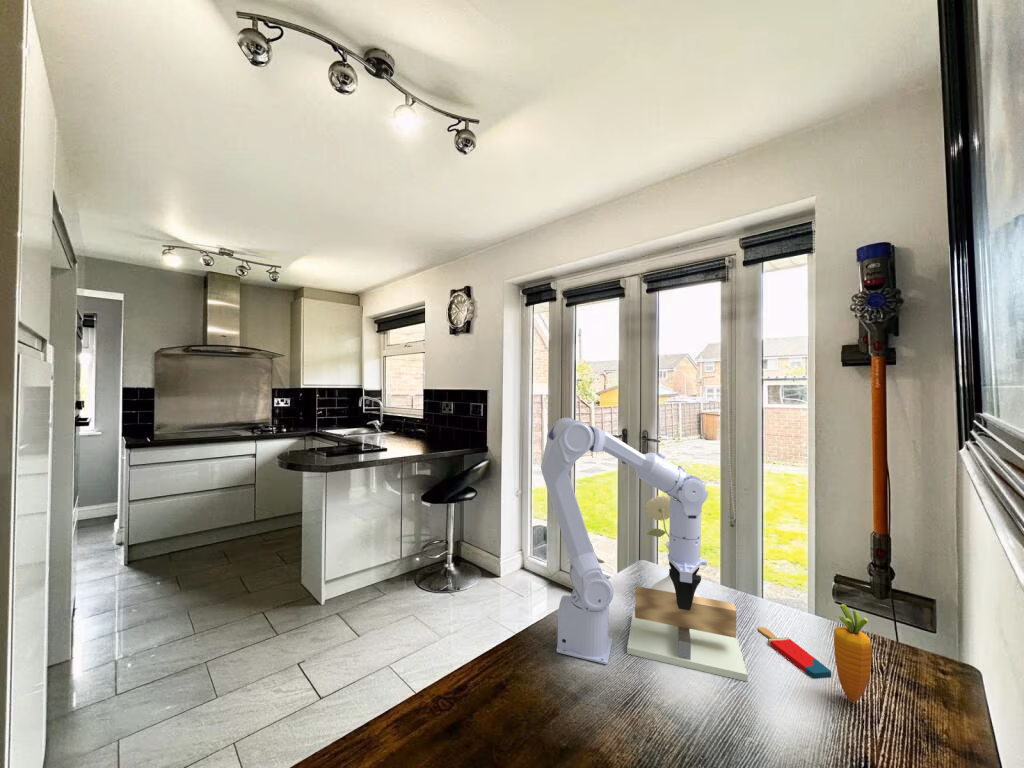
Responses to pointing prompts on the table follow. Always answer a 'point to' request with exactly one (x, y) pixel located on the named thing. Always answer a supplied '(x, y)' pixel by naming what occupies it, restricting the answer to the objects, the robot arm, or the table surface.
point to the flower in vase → (661, 534)
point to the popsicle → (797, 655)
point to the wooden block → (686, 612)
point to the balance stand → (687, 648)
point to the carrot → (852, 655)
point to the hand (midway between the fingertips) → (683, 604)
